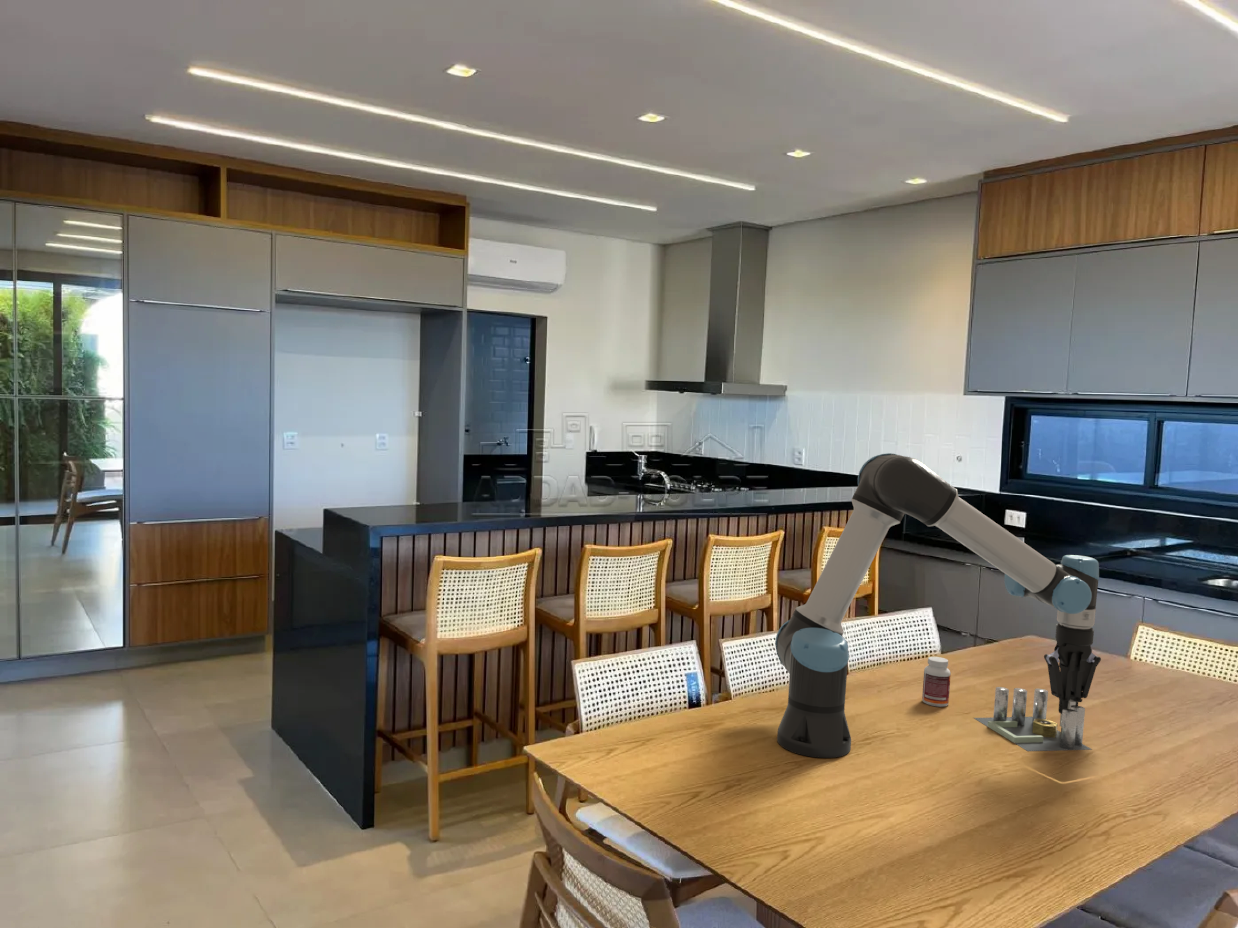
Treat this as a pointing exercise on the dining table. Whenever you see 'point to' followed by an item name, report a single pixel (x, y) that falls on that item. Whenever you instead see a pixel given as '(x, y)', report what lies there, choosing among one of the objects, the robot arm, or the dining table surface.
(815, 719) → the robot arm
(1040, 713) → the spacer posts
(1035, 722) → the nut
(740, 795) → the dining table surface
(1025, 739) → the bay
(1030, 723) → the mat
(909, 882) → the dining table surface
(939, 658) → the pill bottle
